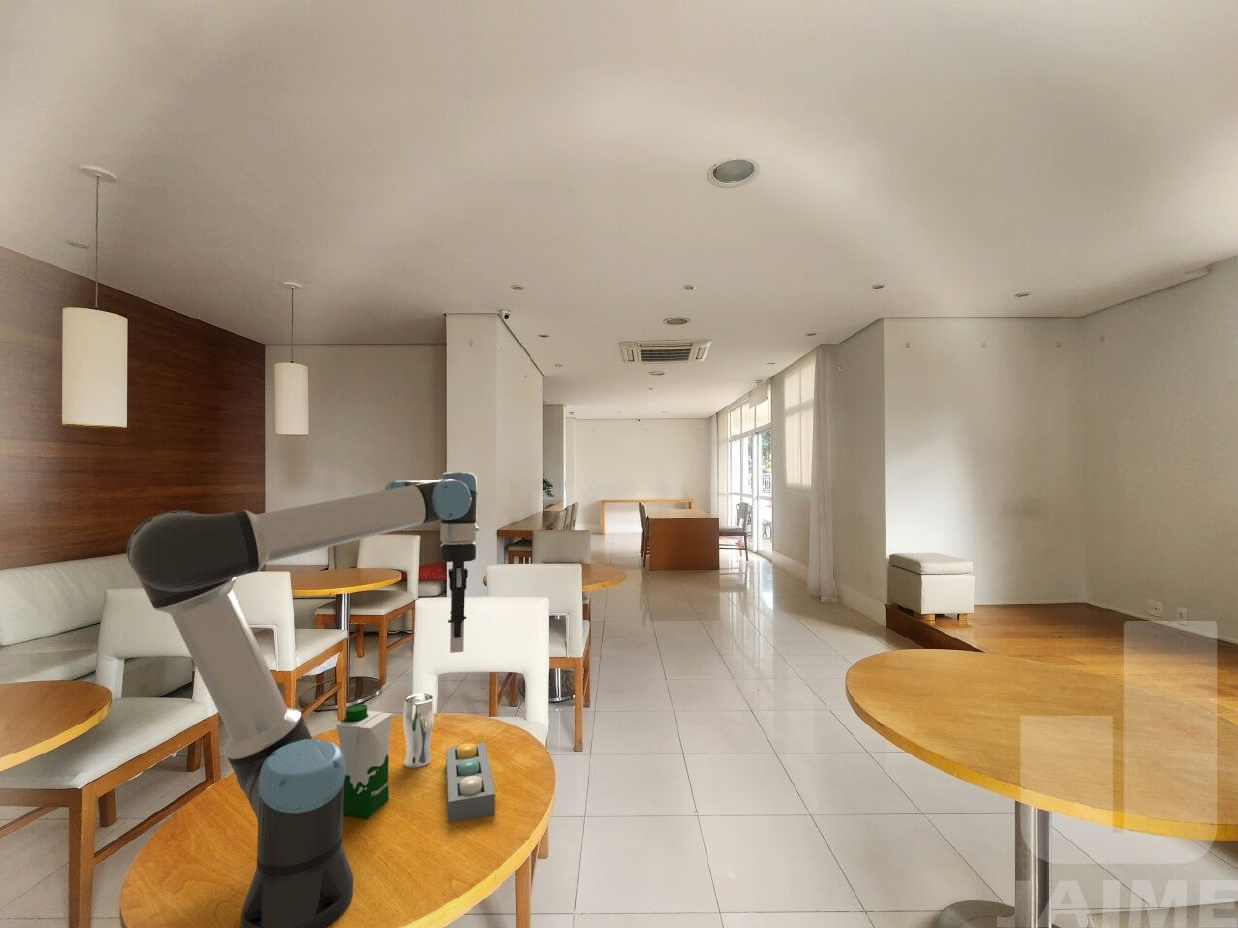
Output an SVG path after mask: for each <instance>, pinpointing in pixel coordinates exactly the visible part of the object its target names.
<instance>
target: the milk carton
mask: <svg viewBox="0 0 1238 928" xmlns="http://www.w3.org/2000/svg"><path fill="white" fill-rule="evenodd" d="M393 714H394V713H391V712H390V713H388V712H383V711H375V710H374V711H372V710H368V706H367V704H364V703H363V704H362V703H360V704H353V705H351V706H348V707H346V708H345V718H343V720H341V721H340V722H339V723H337V724H336V731H337V735H338V739H339V748H340V749H341V750H342V753H343V756H344V764H345V771H346V774H345V780H344V802H343V817H349V818H357V819H363V820H364V819H365V820H368V819H369V818H371V816H373V815H374V814H375V813H376V812H377V811H378V810H380V809H381V808H382V807H383V806H384V805H385V804H386V803H387V802H389V800H390V799H389V798H390V797H389V762H390V761H389V756H390V755H389V754H390V753H389V752H390V734H391V726H392V721H393Z"/></svg>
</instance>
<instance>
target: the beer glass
mask: <svg viewBox="0 0 1238 928" xmlns="http://www.w3.org/2000/svg"><path fill="white" fill-rule="evenodd" d="M403 703H404V705H403V713H402V716H403V717H402V721H403V722H402V725H403V733H404V739H405V744H406V747H405V748H406V749H405V750H406V751H405V758H404V761H403V763H404V766H405V767H406V768H409V769H417V768H422V767H425V766H426V765H428V764H430V763H431V761H432V755H431V749H430V744H431V743H430V742H431V738H432V737H431V736H432V733H433V732H432V731H433V726H434V718H435V717H434V716H435V714H434V713H435V712H434V710H435V709H434V696H433V695H432V694H430V693H429V694H428V693H417V694H412V695H409V696H407V697H406V698H405V699H404V702H403Z"/></svg>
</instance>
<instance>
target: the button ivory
mask: <svg viewBox="0 0 1238 928" xmlns="http://www.w3.org/2000/svg"><path fill="white" fill-rule="evenodd" d="M476 793H482V779H481V778H480V777H478V776H469V777H466V778H464V779H462V780H461V781H460V796H464V795H470V794H476Z"/></svg>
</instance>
